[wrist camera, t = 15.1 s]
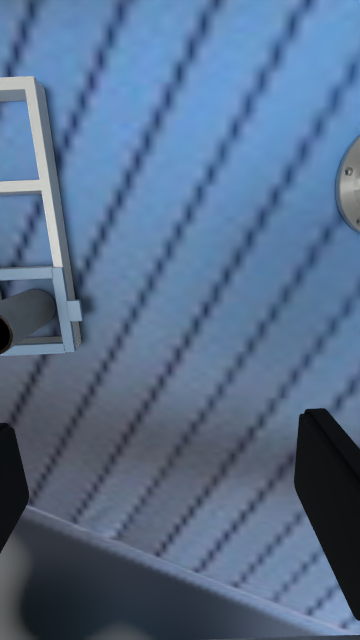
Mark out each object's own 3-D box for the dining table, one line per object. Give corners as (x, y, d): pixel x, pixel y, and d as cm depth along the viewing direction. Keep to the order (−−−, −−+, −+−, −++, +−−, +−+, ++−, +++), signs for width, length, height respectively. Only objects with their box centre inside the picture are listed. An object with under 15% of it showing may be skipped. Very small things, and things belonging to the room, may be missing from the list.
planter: (47, 284, 36) (-1, 303, 27) (61, 318, 38) (21, 349, 28) (13, 294, 37) (-47, 317, 27) (28, 327, 38) (-24, 361, 28)
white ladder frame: (59, 87, 31) (46, 72, 28) (93, 342, 39) (86, 352, 36) (-67, 93, 31) (-93, 78, 28) (-7, 347, 39) (-22, 356, 36)
